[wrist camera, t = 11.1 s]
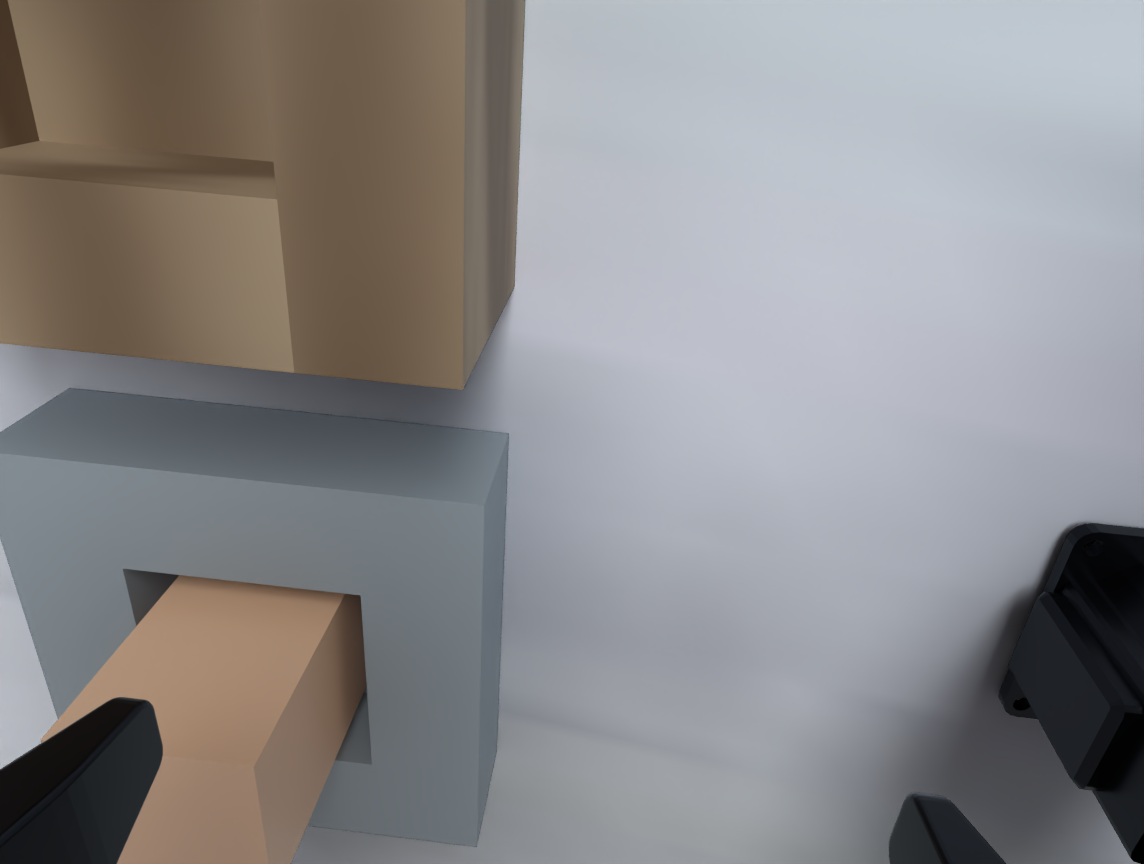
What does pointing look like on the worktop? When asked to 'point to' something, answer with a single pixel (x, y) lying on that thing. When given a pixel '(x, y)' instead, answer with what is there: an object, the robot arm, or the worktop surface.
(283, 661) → the plug
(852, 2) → the worktop surface
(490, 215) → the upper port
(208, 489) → the frame
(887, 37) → the worktop surface
